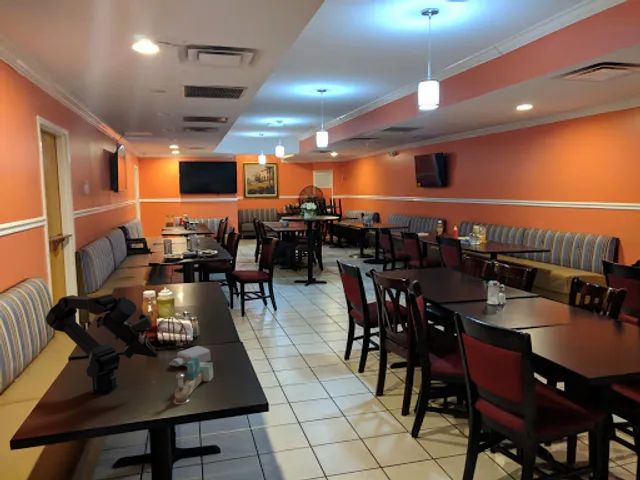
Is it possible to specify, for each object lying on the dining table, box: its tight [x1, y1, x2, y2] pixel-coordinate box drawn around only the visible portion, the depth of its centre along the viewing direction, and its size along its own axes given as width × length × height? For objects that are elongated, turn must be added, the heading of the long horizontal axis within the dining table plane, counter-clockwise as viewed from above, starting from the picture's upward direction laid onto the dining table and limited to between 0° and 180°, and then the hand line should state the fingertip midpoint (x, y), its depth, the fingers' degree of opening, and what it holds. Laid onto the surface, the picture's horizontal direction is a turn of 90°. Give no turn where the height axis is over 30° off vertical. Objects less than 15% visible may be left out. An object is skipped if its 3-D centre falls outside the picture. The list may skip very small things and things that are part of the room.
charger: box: [168, 345, 212, 368], centre depth 182 cm, size 5×9×15 cm
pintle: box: [172, 372, 191, 405], centre depth 151 cm, size 5×5×9 cm
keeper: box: [200, 361, 214, 382], centre depth 168 cm, size 6×4×5 cm
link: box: [174, 356, 203, 402], centre depth 159 cm, size 21×4×9 cm, turn 173°
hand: (156, 355), depth 159 cm, fingers closed
